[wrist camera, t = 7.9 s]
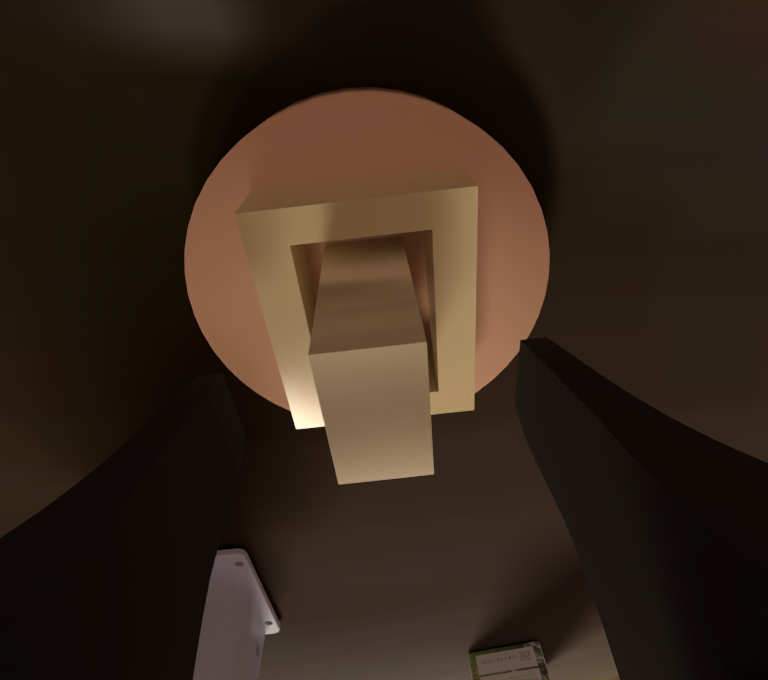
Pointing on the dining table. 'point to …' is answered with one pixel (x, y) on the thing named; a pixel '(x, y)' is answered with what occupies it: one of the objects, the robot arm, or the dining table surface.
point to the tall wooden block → (371, 363)
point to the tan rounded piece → (362, 222)
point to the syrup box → (509, 663)
